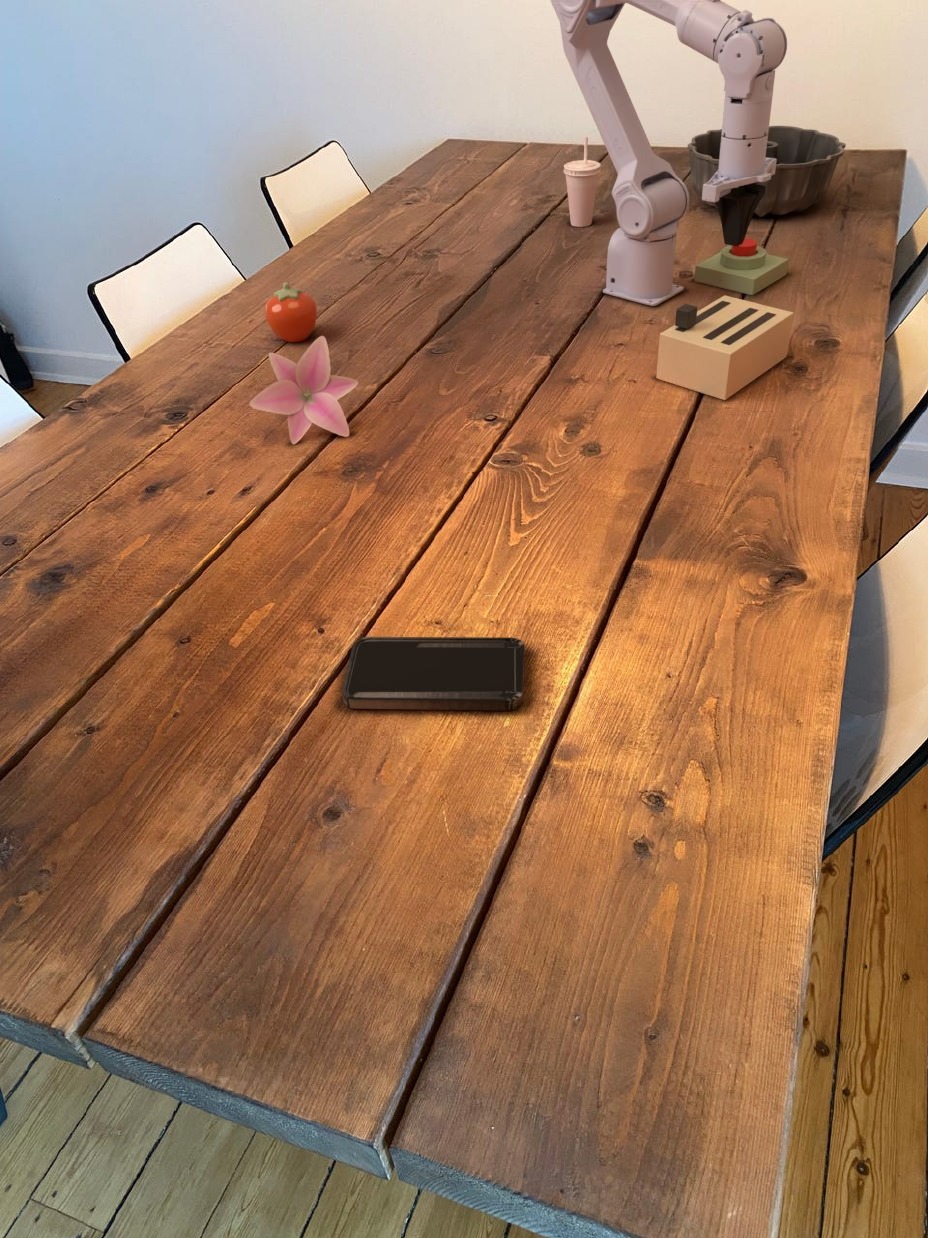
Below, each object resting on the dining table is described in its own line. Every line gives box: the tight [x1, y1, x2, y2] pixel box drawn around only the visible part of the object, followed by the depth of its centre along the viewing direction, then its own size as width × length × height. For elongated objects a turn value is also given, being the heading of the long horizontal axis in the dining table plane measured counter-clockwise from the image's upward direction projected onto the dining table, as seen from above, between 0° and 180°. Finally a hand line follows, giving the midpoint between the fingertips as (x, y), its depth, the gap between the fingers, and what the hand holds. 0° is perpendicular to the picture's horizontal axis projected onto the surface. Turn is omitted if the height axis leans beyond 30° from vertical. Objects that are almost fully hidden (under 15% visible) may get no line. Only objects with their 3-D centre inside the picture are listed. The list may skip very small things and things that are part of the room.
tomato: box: [264, 281, 318, 343], centre depth 135 cm, size 7×7×8 cm
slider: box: [674, 303, 699, 329], centre depth 117 cm, size 2×2×2 cm
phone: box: [341, 636, 526, 711], centre depth 80 cm, size 8×1×15 cm
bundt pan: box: [687, 125, 847, 218], centre depth 168 cm, size 26×26×10 cm
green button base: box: [693, 245, 790, 296], centre depth 143 cm, size 10×10×4 cm
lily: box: [249, 335, 360, 445], centre depth 114 cm, size 12×12×10 cm
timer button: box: [731, 237, 758, 257], centre depth 142 cm, size 4×4×2 cm
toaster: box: [656, 294, 795, 401], centre depth 120 cm, size 10×15×6 cm, turn 137°
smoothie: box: [563, 136, 602, 228], centre depth 164 cm, size 6×6×14 cm
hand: (733, 243), depth 128 cm, fingers closed
